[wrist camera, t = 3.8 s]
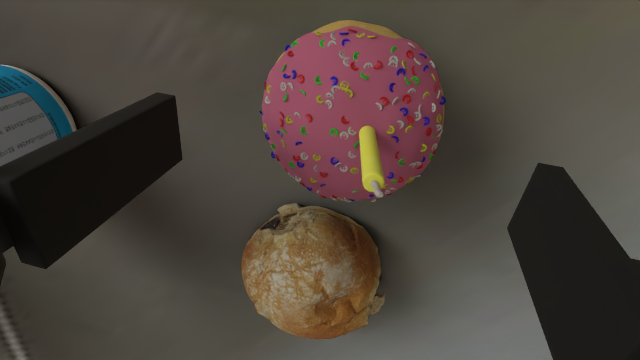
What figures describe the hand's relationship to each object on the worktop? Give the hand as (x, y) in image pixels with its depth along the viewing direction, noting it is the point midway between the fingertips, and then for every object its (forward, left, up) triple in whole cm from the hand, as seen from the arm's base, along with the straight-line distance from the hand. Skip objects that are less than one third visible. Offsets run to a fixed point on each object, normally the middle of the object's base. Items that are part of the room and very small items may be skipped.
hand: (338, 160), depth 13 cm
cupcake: (0, 0, -9) cm, 9 cm away
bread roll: (-1, -13, -9) cm, 16 cm away
